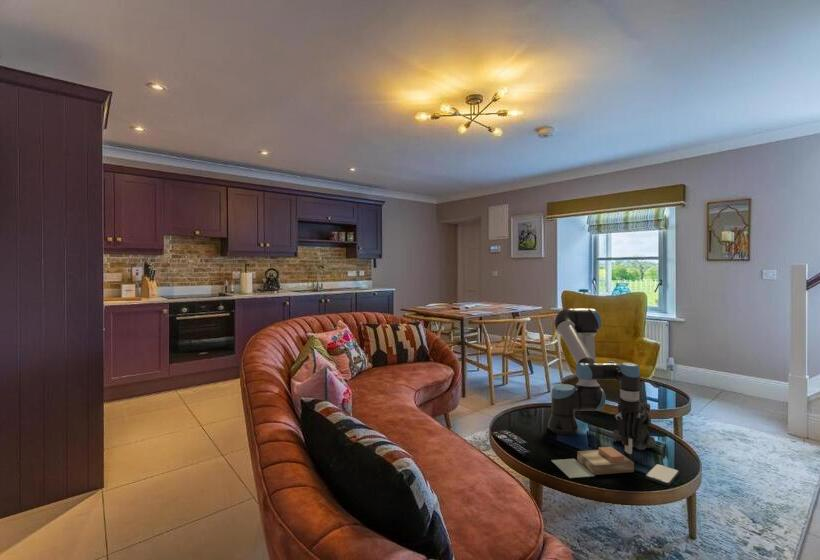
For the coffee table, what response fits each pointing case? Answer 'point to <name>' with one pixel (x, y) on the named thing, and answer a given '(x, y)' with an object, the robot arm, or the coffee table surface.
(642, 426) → the stuffed elephant
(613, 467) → the wooden block
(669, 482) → the phone case
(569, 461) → the mat
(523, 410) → the coffee table surface
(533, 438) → the coffee table surface
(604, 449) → the salmon orange slab
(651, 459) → the coffee table surface
